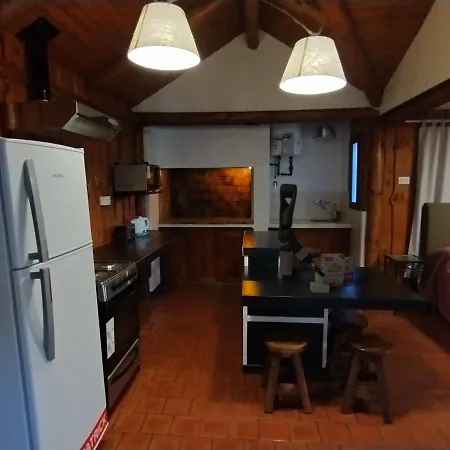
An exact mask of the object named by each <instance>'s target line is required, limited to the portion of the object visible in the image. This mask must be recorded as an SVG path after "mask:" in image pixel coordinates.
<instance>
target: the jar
mask: <svg viewBox="0 0 450 450" xmlns="http://www.w3.org/2000/svg"><path fill="white" fill-rule="evenodd" d="M318 267H319V269H320V270H321V271H322V272H323V273H324V269H323V268H322V267H321V266H318ZM319 269H317V271H318V270H319ZM314 282H315V284H317V285H323V284H324V277H322V276H321V275H320V274H319V273H317V272H316V271H315V270H314Z"/></svg>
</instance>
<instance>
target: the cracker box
mask: <svg viewBox="0 0 450 450" xmlns="http://www.w3.org/2000/svg"><path fill="white" fill-rule="evenodd" d="M320 254H321V255H320V259H321V260H320V267H322V268H323V269H324V274H325V276H324V282H326V283H327V284H328V285H329V288H331V287H333V288H334V287H344V282H343V280H344V264H345V257H346V255H345V254H343V253H320Z"/></svg>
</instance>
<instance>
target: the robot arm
mask: <svg viewBox="0 0 450 450" xmlns="http://www.w3.org/2000/svg"><path fill="white" fill-rule="evenodd" d="M297 196H298V185H297V184H294V183H281V184H280V186H279V211H278V212H279V213H278V215H279V218H278V220H279V221H278V222H279V223H278V224H279V225H278V231H277V232H278V233H277V238H278V239H277V240H278V241H279V243H281V244H284V245H280V246H279V263H278V264H279V268H278V269H279V270H278V271H279V272H278V273H279V275H281V276H292V274H293V254H294V255H295V256H296V258H297V259H298V260H299V261H300V262H301V263H302V264H303V265H304V266H306V265H309V267H310V268H312V269H313V270H314V272H315V271H316V272H317V273H319V274H320V275H321V276H322V277H324V276H325V274H324V273H323V272H322V271H321V270H320V269H319V267H320V266H318V264H317V263H316V262H315V260H313V259H314V256H313V254H312V253H311V252H310V251H309V250H308V249H307V248H306V247H305V246H304V245H302V244H301V242H299V240H298V237H296V235H295V232H294V229H293V228H292V227H293V221H294V211H295V207H296V203H297ZM286 199H291V200H290V202H288V200H286ZM317 269H319V270H318V271H317Z"/></svg>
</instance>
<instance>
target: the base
mask: <svg viewBox="0 0 450 450" xmlns="http://www.w3.org/2000/svg"><path fill="white" fill-rule="evenodd" d="M309 289H310V291H311V292H312V293H325V294H326V293H327V294H328V293H330V287H329V285H328V284H327V283H326V282H324V284H323V285H317V284H315V281H309Z"/></svg>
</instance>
